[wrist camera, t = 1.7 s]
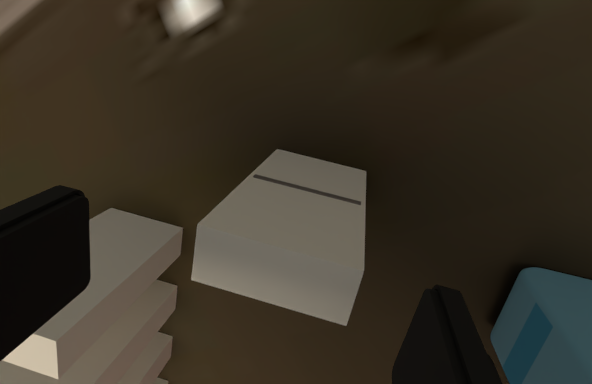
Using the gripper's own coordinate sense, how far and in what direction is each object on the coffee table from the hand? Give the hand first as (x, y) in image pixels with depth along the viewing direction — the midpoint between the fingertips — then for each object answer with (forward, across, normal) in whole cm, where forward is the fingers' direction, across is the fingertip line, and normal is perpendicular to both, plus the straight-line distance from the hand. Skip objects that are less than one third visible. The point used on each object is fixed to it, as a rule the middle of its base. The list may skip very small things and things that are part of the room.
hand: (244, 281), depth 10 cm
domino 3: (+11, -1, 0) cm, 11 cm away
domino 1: (+11, +9, +7) cm, 16 cm away
